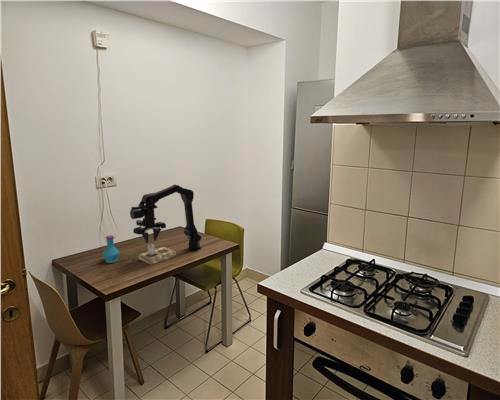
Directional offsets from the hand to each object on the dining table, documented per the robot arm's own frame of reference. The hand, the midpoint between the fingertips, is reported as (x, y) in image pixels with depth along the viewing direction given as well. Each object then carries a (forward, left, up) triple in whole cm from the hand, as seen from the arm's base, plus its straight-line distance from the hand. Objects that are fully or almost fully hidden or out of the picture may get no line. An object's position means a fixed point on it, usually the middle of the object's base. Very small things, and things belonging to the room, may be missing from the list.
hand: (150, 241), depth 203 cm
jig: (-4, 0, -11) cm, 12 cm away
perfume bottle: (+16, -17, -11) cm, 26 cm away
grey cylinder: (0, 0, -11) cm, 11 cm away
